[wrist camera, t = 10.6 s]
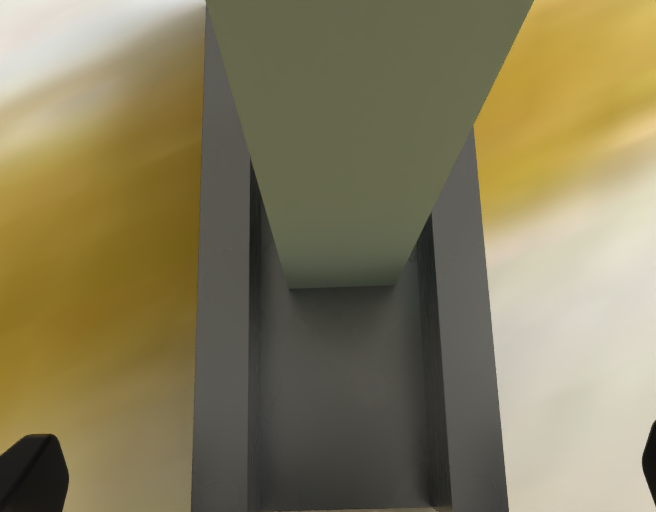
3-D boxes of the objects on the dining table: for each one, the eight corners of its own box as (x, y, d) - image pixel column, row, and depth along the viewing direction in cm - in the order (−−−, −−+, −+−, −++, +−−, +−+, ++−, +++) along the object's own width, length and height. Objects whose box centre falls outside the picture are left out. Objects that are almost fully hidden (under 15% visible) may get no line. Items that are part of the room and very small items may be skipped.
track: (472, 502, 17) (509, 522, 13) (218, 508, 17) (189, 530, 13) (432, -9, 21) (452, -95, 18) (228, -5, 21) (209, -90, 18)
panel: (386, 140, 19) (491, -372, 7) (395, 284, 18) (542, -19, 6) (285, 144, 19) (209, -367, 7) (287, 288, 18) (202, -9, 6)
